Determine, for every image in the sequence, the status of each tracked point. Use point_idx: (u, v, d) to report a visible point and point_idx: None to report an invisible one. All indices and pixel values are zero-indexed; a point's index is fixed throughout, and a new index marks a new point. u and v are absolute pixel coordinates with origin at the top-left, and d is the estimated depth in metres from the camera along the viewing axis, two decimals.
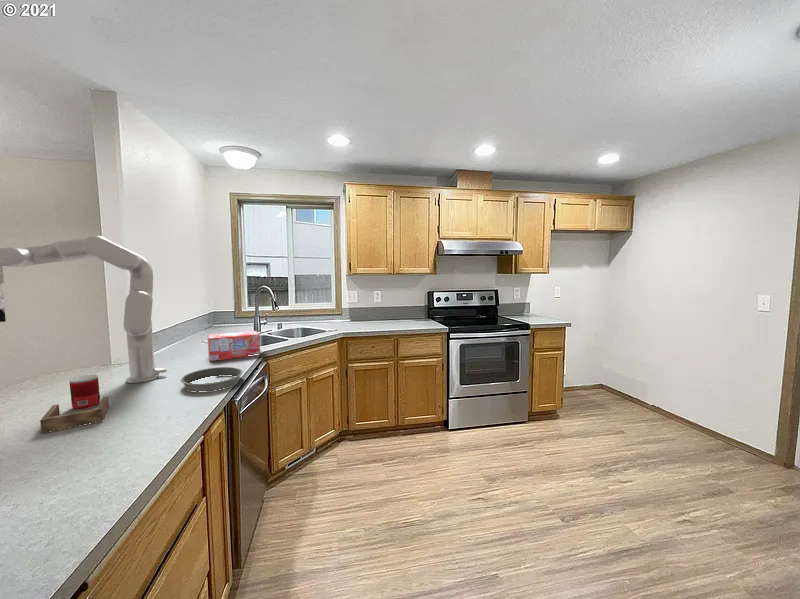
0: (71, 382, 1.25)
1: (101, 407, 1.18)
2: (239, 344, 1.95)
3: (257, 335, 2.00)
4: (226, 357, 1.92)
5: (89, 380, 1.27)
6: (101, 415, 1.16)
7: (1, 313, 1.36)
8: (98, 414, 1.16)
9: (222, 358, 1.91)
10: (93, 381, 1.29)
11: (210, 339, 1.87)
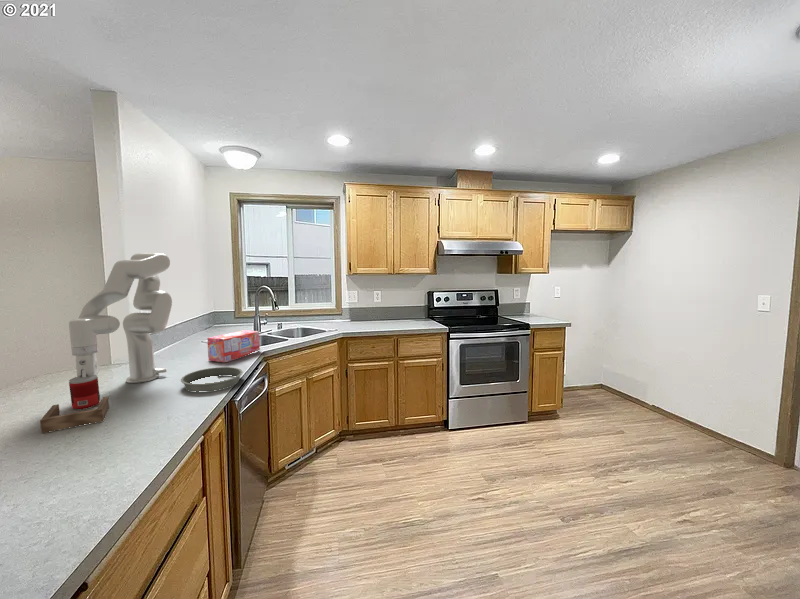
0: (71, 382, 1.25)
1: (101, 407, 1.18)
2: (245, 343, 1.99)
3: (257, 332, 2.08)
4: (236, 357, 1.93)
5: (89, 380, 1.27)
6: (101, 415, 1.16)
7: None
8: (98, 414, 1.16)
9: (233, 358, 1.91)
10: (93, 382, 1.28)
11: (224, 340, 1.85)
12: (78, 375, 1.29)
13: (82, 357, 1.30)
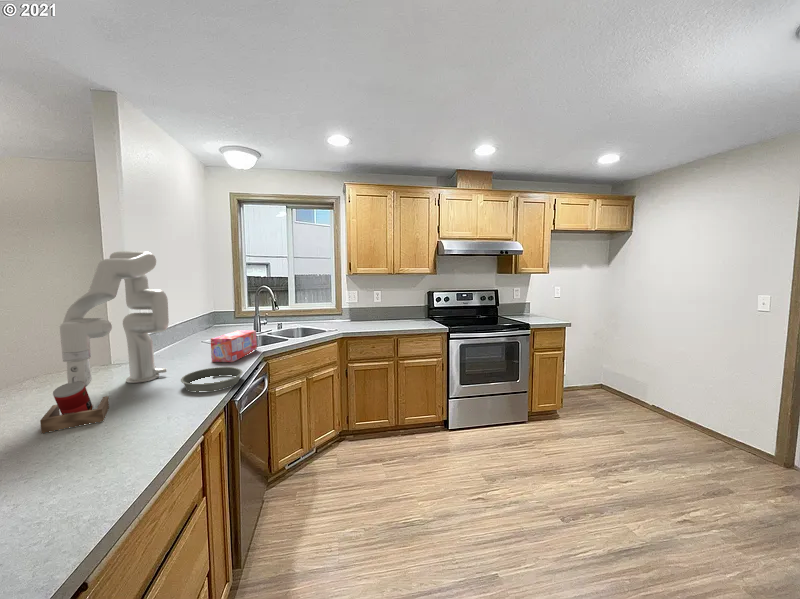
0: (53, 395, 1.13)
1: (101, 407, 1.18)
2: (247, 342, 2.01)
3: (255, 332, 2.10)
4: (240, 356, 1.95)
5: (71, 394, 1.14)
6: (101, 415, 1.16)
7: None
8: (98, 414, 1.16)
9: (238, 357, 1.93)
10: (76, 395, 1.16)
11: (231, 340, 1.86)
12: (69, 383, 1.19)
13: (74, 363, 1.19)
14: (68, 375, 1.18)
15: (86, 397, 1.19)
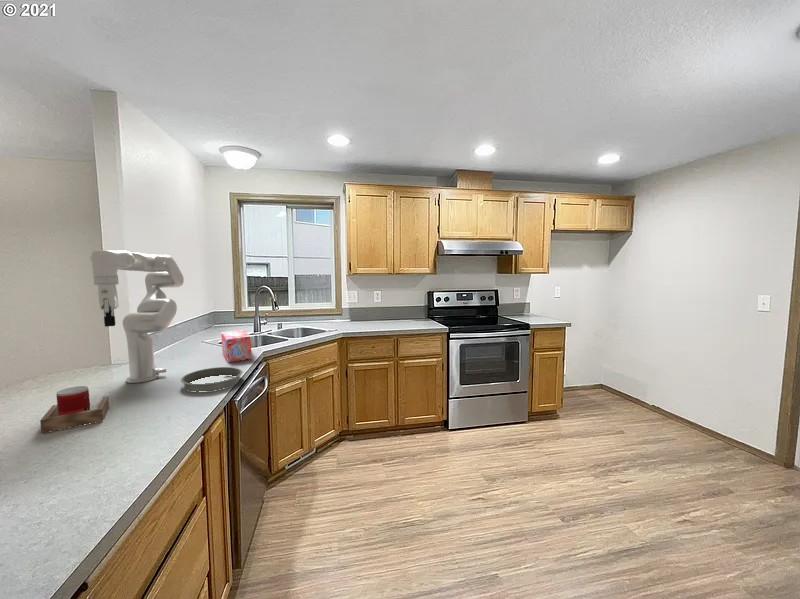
0: (56, 394, 1.14)
1: (101, 407, 1.18)
2: None
3: (243, 331, 2.12)
4: None
5: (73, 394, 1.14)
6: (101, 415, 1.16)
7: None
8: (98, 414, 1.16)
9: None
10: (78, 395, 1.15)
11: None
12: (101, 304, 1.32)
13: (104, 286, 1.32)
14: (99, 296, 1.32)
15: (86, 401, 1.18)
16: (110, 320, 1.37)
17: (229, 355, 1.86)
